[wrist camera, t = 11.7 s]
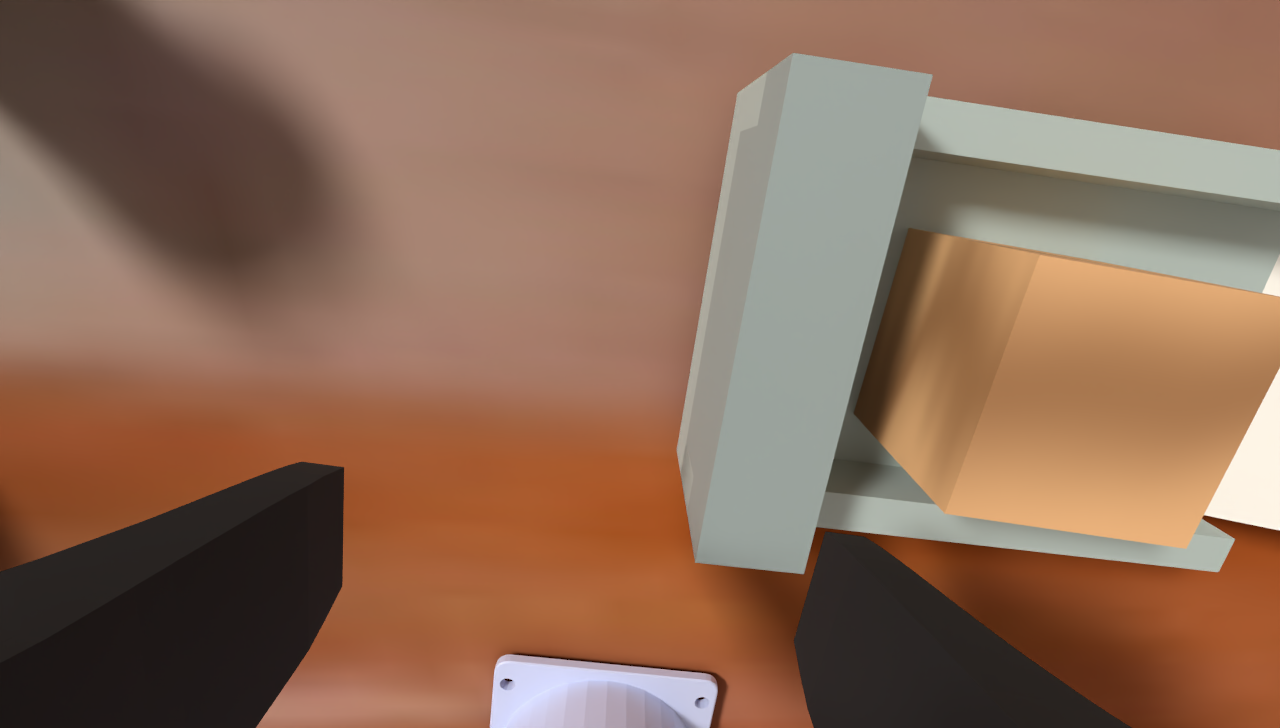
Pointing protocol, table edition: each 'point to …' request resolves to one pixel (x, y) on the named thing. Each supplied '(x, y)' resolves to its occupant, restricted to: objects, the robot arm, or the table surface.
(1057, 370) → the block
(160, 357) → the table surface
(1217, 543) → the bed
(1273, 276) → the panel
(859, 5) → the table surface
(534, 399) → the table surface
